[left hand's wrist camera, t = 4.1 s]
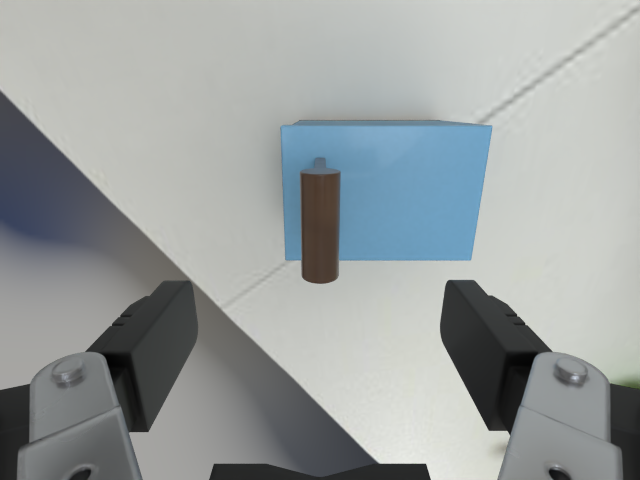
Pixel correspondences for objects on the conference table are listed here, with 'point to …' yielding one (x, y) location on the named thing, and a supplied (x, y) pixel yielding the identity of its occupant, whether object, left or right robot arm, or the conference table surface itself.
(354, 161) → the blue box lid
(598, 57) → the conference table surface
